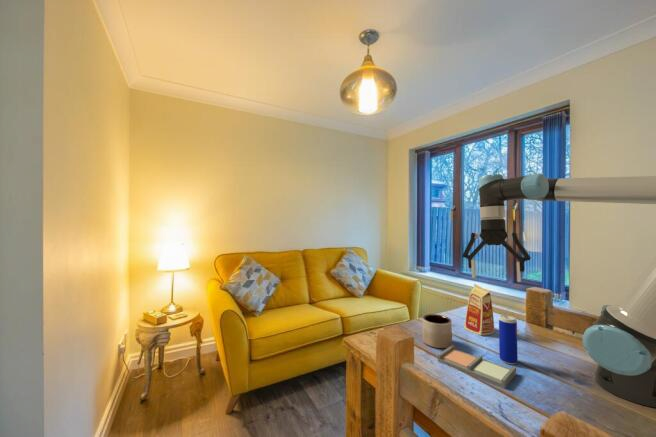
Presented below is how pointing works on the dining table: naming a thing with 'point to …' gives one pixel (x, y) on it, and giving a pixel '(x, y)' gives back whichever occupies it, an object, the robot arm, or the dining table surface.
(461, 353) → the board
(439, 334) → the planter
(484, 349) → the dining table surface
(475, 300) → the milk carton
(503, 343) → the beverage can
